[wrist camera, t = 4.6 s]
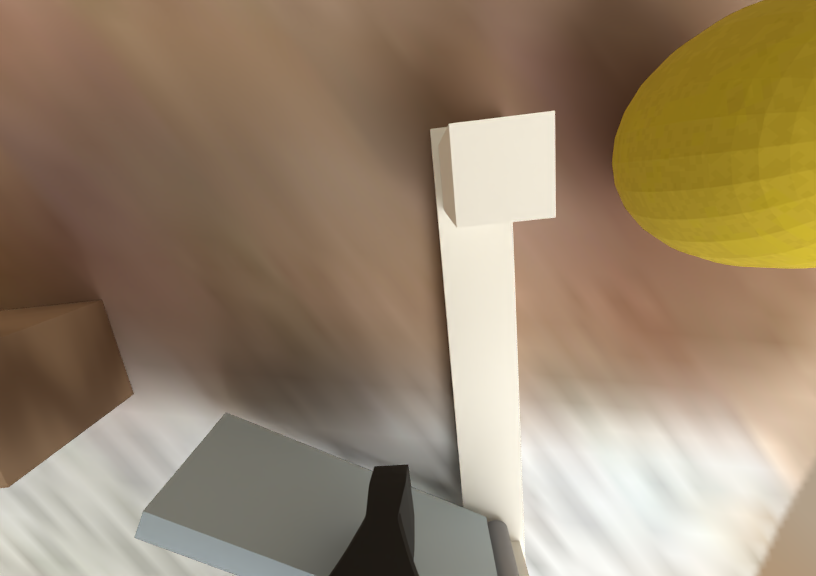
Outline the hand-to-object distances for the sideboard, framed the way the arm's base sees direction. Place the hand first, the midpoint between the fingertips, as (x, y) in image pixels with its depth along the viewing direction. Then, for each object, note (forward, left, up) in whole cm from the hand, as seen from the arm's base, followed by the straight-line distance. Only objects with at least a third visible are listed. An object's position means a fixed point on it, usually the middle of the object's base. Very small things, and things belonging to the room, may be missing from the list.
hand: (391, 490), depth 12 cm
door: (-2, +1, -2) cm, 3 cm away
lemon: (+9, -10, -3) cm, 14 cm away
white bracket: (+2, -4, -3) cm, 5 cm away
